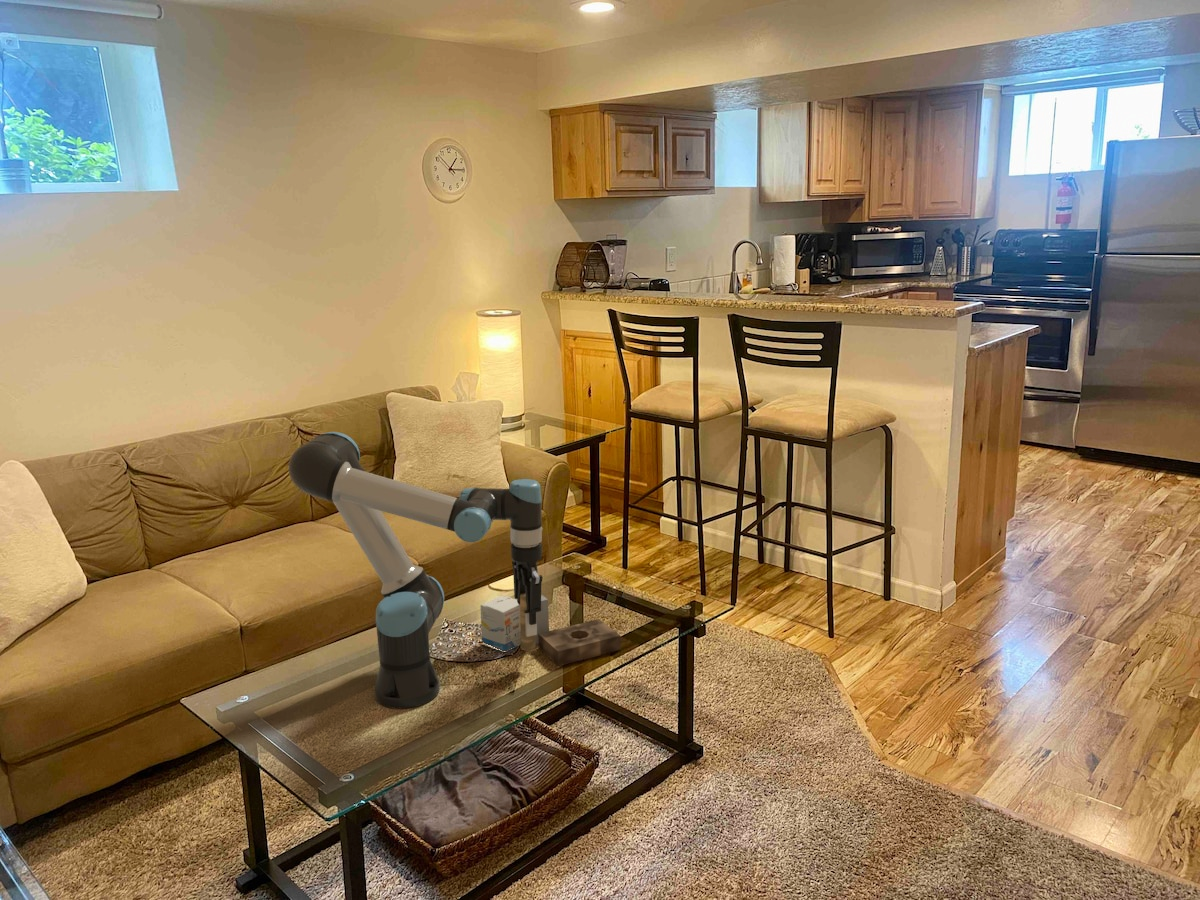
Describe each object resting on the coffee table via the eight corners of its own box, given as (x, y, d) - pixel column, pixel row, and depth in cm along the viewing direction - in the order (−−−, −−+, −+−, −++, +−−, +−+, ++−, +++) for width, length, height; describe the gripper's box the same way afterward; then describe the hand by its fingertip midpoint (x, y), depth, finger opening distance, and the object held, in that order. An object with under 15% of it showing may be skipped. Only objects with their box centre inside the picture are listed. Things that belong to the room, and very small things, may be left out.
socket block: (558, 666, 223) (557, 651, 222) (538, 647, 234) (538, 633, 233) (620, 649, 231) (620, 635, 230) (599, 632, 242) (598, 618, 241)
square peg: (535, 644, 235) (534, 602, 233) (529, 639, 239) (527, 597, 236) (549, 641, 237) (547, 599, 234) (543, 635, 241) (541, 594, 238)
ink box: (504, 653, 231) (502, 612, 228) (481, 645, 236) (479, 604, 233) (526, 641, 237) (525, 601, 235) (503, 633, 242) (501, 593, 240)
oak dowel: (524, 651, 220) (523, 599, 216) (518, 646, 223) (517, 594, 219) (537, 648, 221) (537, 596, 218) (532, 643, 224) (531, 591, 221)
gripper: (554, 550, 210) (555, 641, 216) (527, 530, 224) (528, 616, 230) (525, 555, 207) (527, 648, 212) (499, 535, 221) (501, 622, 226)
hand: (527, 631), depth 221 cm, fingers closed on oak dowel, 3 cm apart
